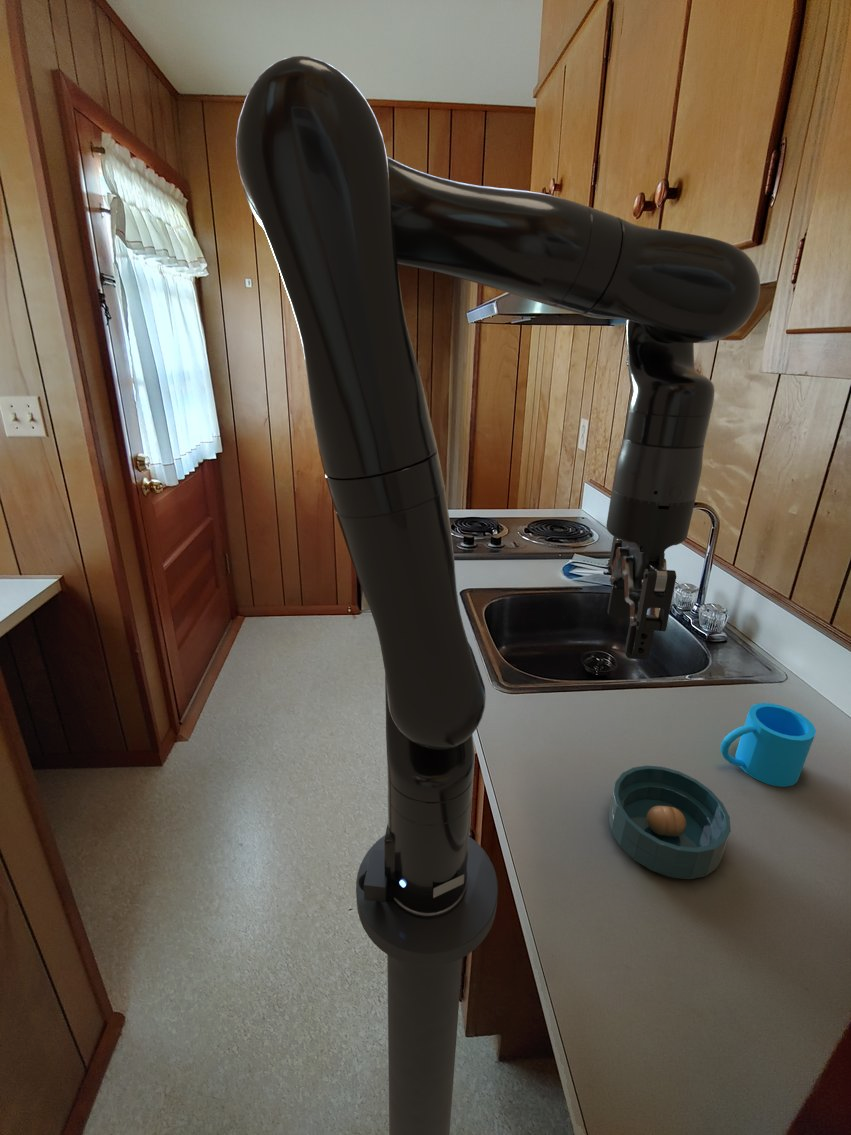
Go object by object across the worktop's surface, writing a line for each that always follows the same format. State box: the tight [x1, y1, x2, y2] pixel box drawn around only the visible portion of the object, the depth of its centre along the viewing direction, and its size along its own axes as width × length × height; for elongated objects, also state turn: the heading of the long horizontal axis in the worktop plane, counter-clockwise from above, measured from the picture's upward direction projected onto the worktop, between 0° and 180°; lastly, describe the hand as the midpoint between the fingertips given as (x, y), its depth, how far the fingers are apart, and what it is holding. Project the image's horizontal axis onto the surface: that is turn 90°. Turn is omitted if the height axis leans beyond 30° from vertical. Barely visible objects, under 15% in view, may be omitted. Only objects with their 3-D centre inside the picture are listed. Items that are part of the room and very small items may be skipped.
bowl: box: [607, 765, 732, 880], centre depth 68 cm, size 13×13×5 cm
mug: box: [720, 702, 817, 788], centre depth 79 cm, size 12×8×8 cm
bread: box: [647, 806, 686, 837], centre depth 68 cm, size 5×3×3 cm
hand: (625, 635), depth 59 cm, fingers open, 8 cm apart
